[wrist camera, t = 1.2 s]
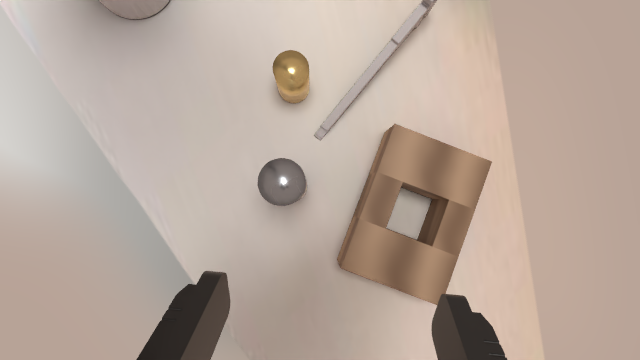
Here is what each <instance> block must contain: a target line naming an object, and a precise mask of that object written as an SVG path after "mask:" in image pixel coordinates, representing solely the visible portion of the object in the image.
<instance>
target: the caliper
mask: <svg viewBox="0 0 640 360" xmlns="http://www.w3.org/2000/svg"><path fill="white" fill-rule="evenodd" d="M436 1H437V0H423V1H422V3H421V4H419V6H418V7H417V8H416V9H415V10H414V12H413V13H412V14H411V15H410V17H409V18H408V19H407V20H406V21H405V23H404V24H403V25H402V26H401V28H400V29H399V30H398V31H397V32H396V34H395V35H394V36H393V37H392V39H391V40H390V42H389V43H388V44H387V45H386V47H385V48H384V49H383V50H382V51H381V53H380V54H379V55H378V56H377V58H376V59H375V60H374V61H373V62H372V64H371V65H370V66H369V67H368V69H367V70H366V71H365V72H364V73H363V75H362V76H361V77H360V78H359V80H358V81H357V82H356V83H355V84H354V86H353V87H352V88H351V89H350V91H349V92H348V93H347V94H346V95H345V97H344V98H343V99H342V100H341V102H340V103H339V104H338V105H337V106H336V108H335V109H334V110H333V111H332V113H331V114H330V115H329V116H328V117H327V119H326V120H325V121H324V122H323V123H322V125H321V127H320V128H319V129H318V130H317V132H316V133H315V134H314V136H315V137H317V138H318V139H319V140H321V139H322V138H323V137H324V135H325V134H326V133H327V132H328V131H329V130H330V129H331V127H332V126H333V125H334V124H335V123H336V121H337V120H338V119H339V118H340V117H341V115H342V114H343V113H344V112H345V111H346V109H347V108H348V107H349V106H350V104H351V103H352V102H353V101H354V100H355V98H356V97H357V96H358V95H359V94H360V92H361V91H362V90H363V89H364V88H365V86H366V85H367V84H368V83H369V81H370V80H371V79H372V78H373V77H374V75H375V74H376V73H377V72H378V71H379V69H380V68H381V67H382V66H383V65H384V63H385V62H386V61H387V60H388V58H389V57H390V56H391V55H392V54H393V52H394V51H395V50H397V48H398V47H399V46H400V45H401V43H402V42H403V41H404V40H405V39H406V37H407V36H408V35H409V34H410V32H411V31H412V30H413V29H414V28H417V26H418V25H419V23H420V22H421V20H422V18H423V16H424V17H426V16H427V14H428V13H429V12H430V10H431V9H432V7H433V6H434V4H435V2H436Z"/></svg>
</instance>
